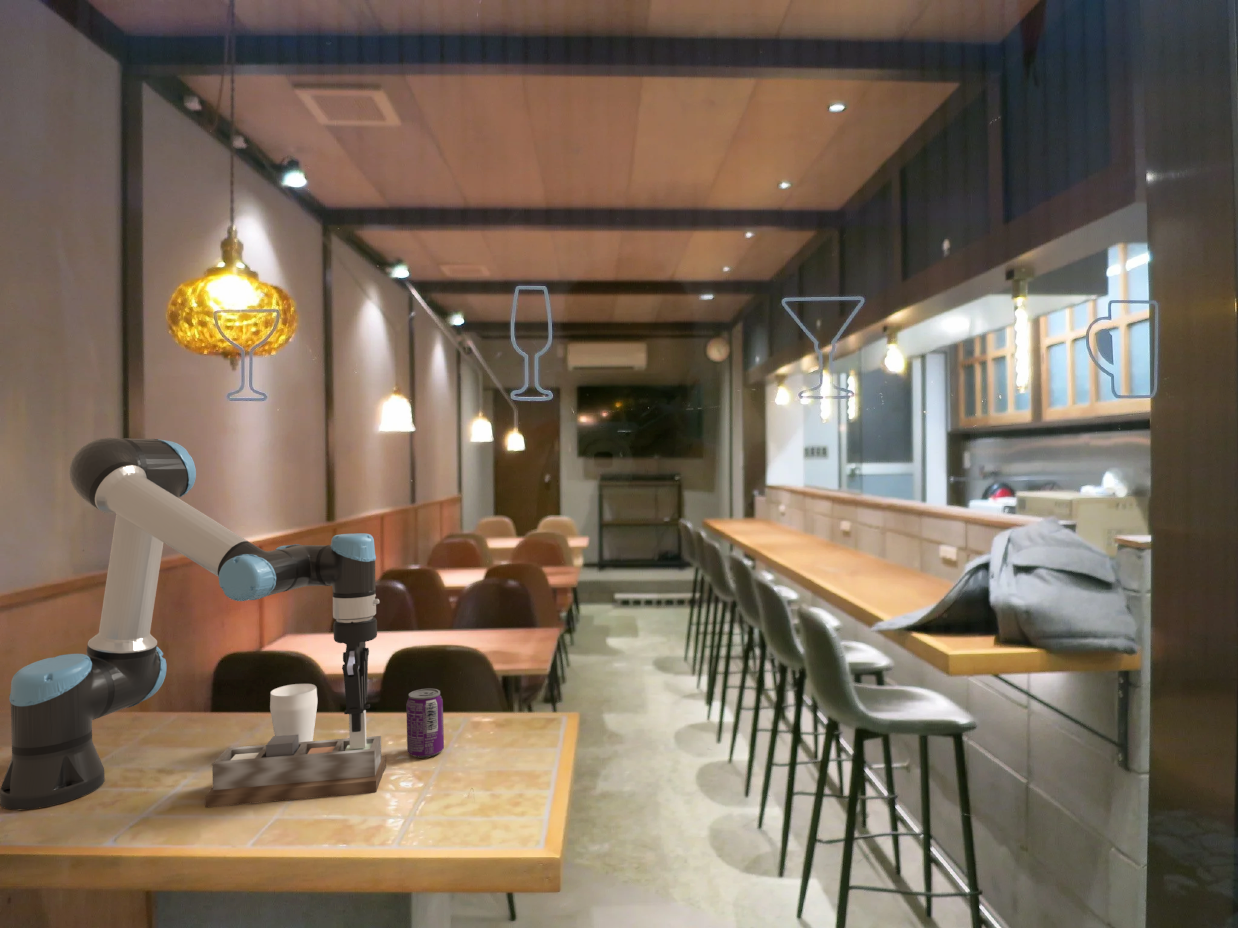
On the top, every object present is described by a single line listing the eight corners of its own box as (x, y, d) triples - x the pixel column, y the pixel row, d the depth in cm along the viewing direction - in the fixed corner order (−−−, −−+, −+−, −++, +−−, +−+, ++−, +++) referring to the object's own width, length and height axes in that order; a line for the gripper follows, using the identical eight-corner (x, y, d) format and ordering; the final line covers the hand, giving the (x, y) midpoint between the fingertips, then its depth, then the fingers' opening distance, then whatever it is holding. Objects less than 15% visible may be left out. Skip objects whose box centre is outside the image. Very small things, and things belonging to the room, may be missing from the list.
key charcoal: (266, 761, 133) (266, 744, 133) (273, 752, 138) (273, 736, 138) (292, 759, 134) (292, 742, 134) (298, 750, 138) (298, 734, 138)
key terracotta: (305, 773, 134) (305, 757, 134) (311, 764, 139) (310, 748, 139) (331, 771, 135) (330, 755, 135) (336, 762, 139) (335, 746, 139)
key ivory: (227, 780, 132) (226, 763, 132) (235, 770, 136) (235, 754, 136) (254, 778, 133) (253, 761, 133) (261, 768, 137) (261, 752, 137)
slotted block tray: (205, 807, 128) (204, 769, 128) (229, 778, 140) (229, 743, 140) (376, 791, 133) (375, 754, 133) (386, 765, 144) (385, 731, 144)
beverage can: (448, 746, 154) (447, 687, 154) (437, 760, 147) (435, 698, 147) (415, 746, 154) (413, 687, 154) (401, 759, 147) (400, 698, 147)
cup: (307, 755, 150) (305, 695, 150) (262, 756, 151) (261, 696, 151) (325, 739, 159) (324, 682, 159) (283, 740, 160) (282, 683, 160)
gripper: (370, 624, 132) (373, 758, 132) (381, 610, 145) (384, 733, 145) (325, 626, 131) (329, 762, 131) (340, 612, 144) (343, 736, 144)
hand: (358, 746), depth 138 cm, fingers closed
